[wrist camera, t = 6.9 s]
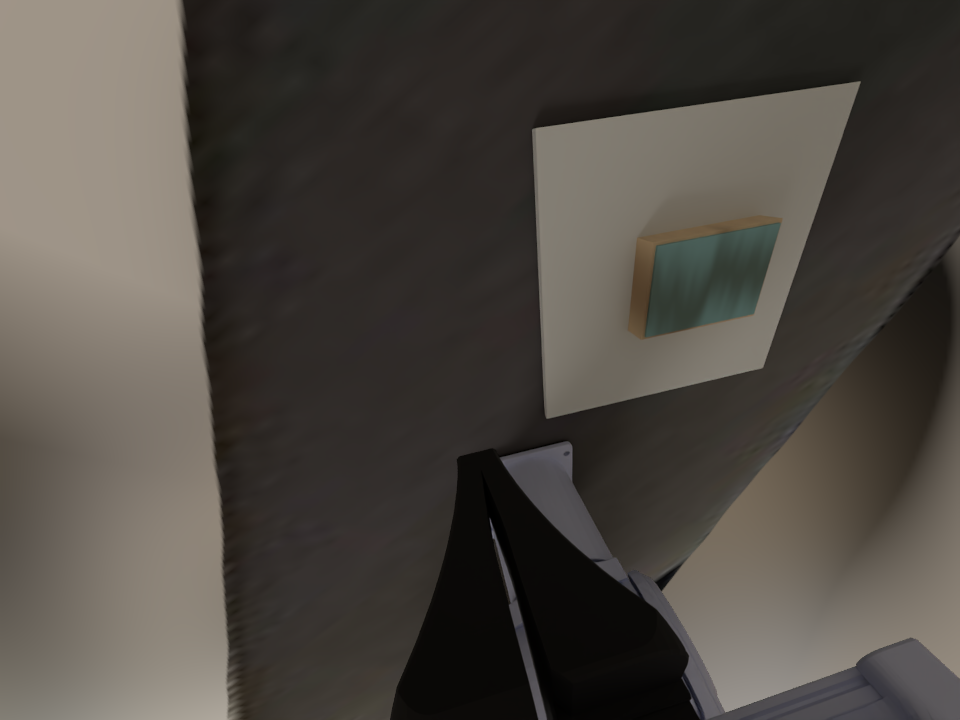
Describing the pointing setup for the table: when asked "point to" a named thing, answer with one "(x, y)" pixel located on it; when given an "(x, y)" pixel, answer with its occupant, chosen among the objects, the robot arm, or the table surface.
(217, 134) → the table surface
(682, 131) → the rubber mat
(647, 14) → the table surface
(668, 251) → the wood tile
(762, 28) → the table surface
